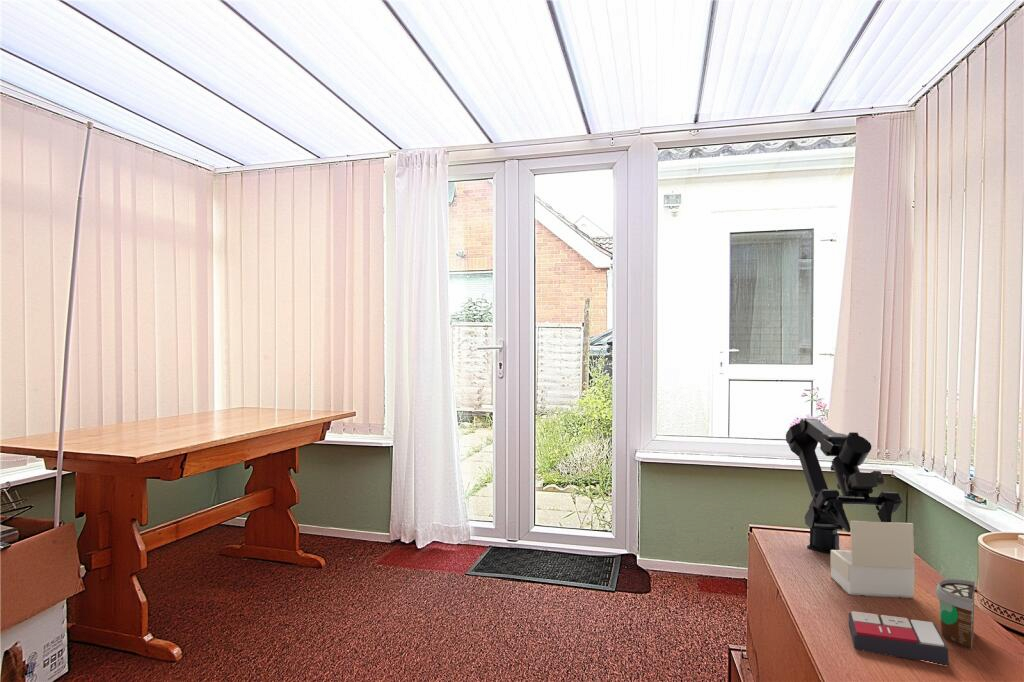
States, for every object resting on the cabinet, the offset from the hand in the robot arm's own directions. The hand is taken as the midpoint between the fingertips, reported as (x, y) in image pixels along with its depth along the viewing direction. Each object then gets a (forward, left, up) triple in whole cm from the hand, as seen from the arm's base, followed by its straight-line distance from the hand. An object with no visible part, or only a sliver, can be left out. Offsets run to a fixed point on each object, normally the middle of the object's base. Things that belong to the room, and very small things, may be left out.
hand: (869, 532), depth 146 cm
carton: (+1, -1, -13) cm, 13 cm away
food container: (+20, -13, -13) cm, 28 cm away
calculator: (+14, -27, -14) cm, 33 cm away
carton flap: (+4, -4, -1) cm, 6 cm away
